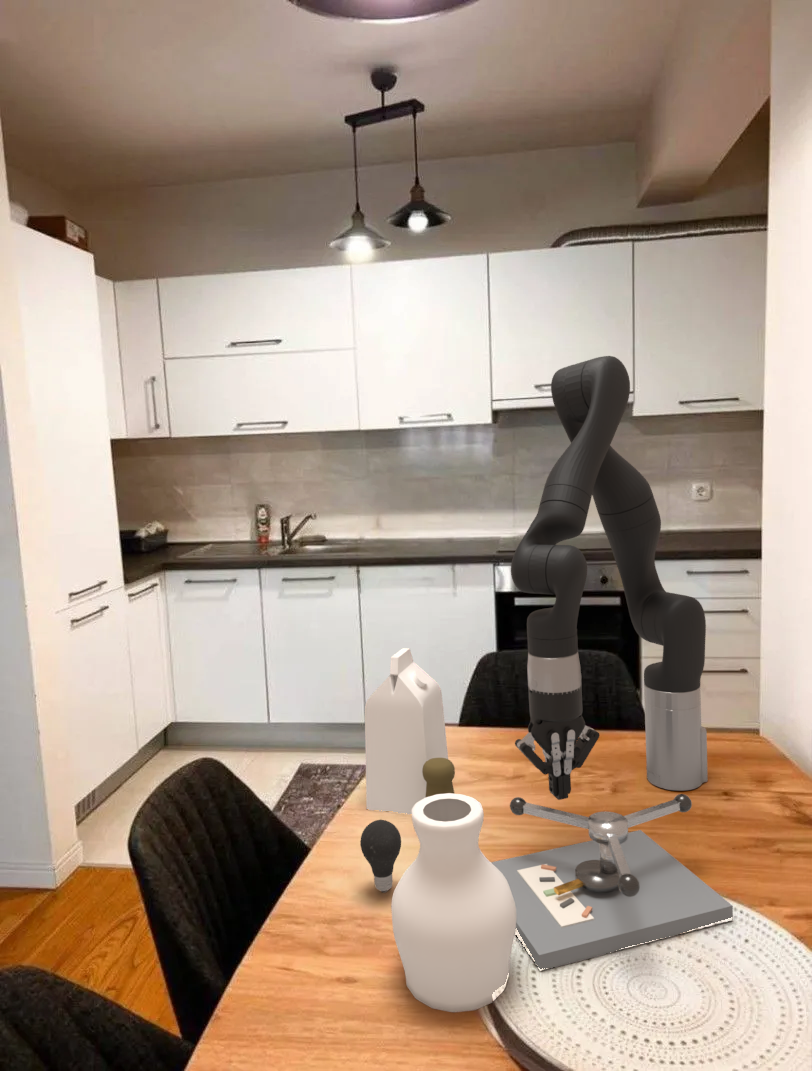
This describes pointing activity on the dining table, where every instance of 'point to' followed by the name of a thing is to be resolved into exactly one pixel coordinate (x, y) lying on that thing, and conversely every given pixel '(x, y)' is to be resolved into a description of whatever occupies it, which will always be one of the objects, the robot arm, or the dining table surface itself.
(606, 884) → the capstan
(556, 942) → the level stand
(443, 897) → the vase
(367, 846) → the light bulb
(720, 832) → the dining table surface
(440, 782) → the cork
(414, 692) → the milk
